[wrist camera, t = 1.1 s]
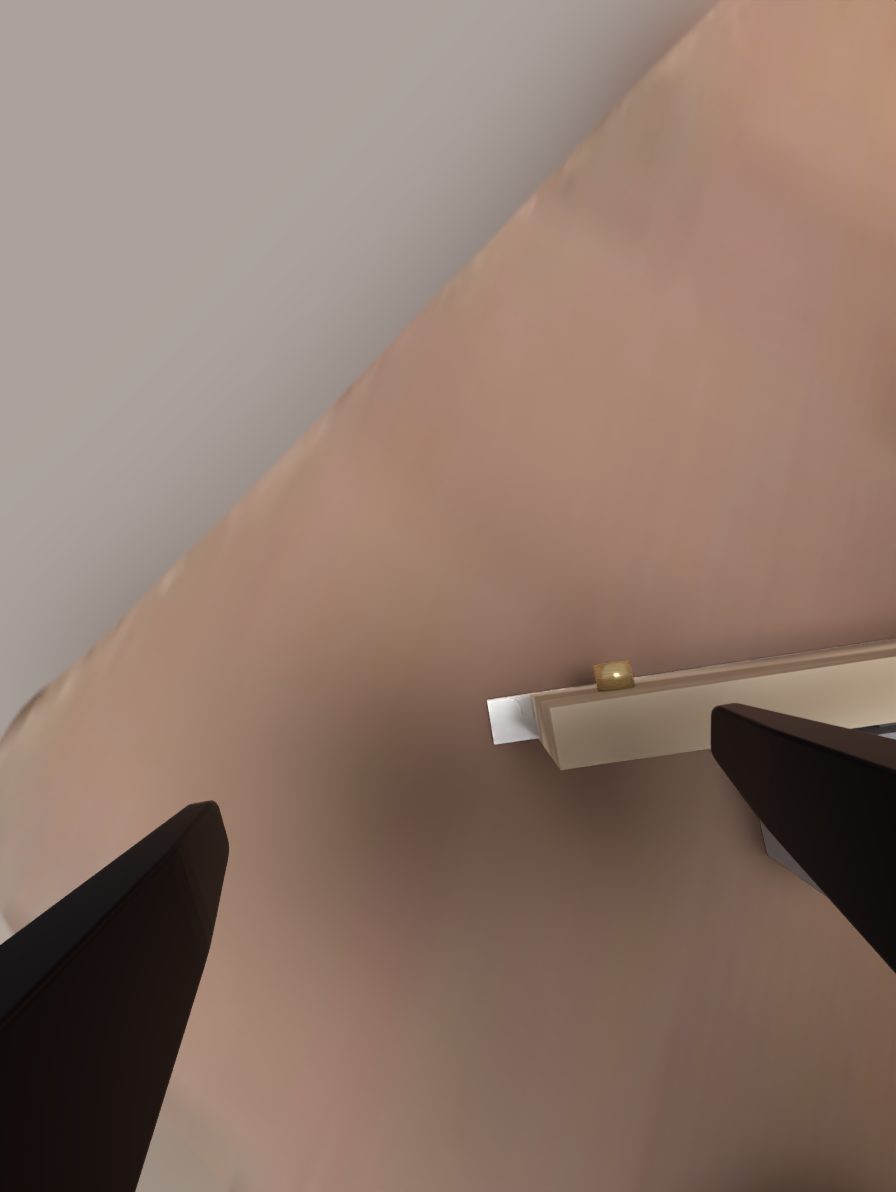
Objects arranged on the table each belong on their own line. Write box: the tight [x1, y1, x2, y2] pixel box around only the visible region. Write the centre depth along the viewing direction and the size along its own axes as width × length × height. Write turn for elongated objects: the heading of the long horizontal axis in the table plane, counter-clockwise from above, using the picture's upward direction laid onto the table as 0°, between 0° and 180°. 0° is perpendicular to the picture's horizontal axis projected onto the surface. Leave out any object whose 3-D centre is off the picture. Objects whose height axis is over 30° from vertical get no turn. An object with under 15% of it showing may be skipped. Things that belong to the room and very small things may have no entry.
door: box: [531, 640, 896, 770], centre depth 19 cm, size 3×18×6 cm, turn 99°
